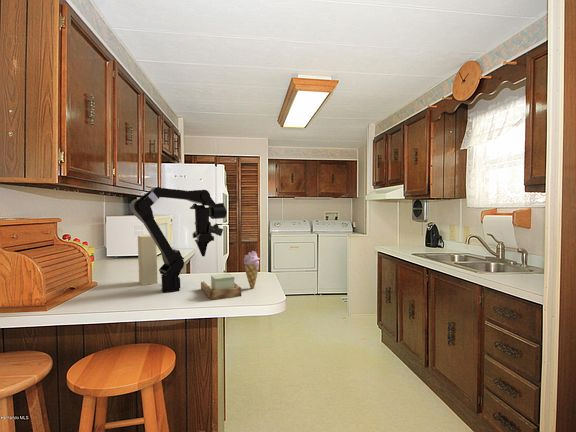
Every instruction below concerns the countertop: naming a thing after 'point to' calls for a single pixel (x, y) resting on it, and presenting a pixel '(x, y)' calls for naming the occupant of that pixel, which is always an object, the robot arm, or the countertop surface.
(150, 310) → the countertop surface
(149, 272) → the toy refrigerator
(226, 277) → the pale green block
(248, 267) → the ice cream cone
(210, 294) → the bay
